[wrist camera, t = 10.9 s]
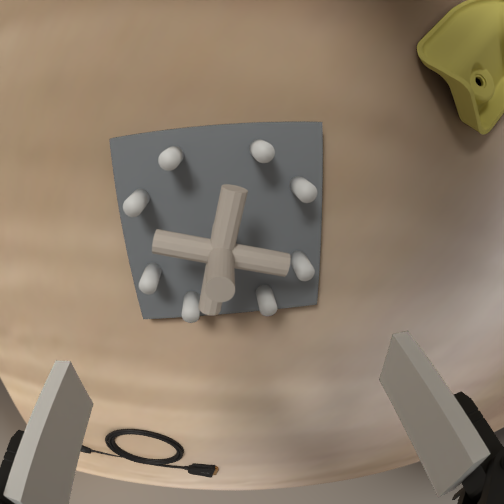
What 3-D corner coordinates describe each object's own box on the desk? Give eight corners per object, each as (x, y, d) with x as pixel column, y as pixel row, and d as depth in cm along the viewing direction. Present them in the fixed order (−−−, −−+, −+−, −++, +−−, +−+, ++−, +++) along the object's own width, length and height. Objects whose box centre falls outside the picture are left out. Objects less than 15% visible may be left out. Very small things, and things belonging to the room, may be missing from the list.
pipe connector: (160, 267, 29) (135, 337, 20) (175, 162, 25) (145, 194, 16) (264, 286, 31) (277, 358, 22) (292, 186, 27) (324, 228, 18)
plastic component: (481, 142, 26) (465, 78, 19) (434, 113, 31) (407, 53, 24) (543, 53, 19) (532, -7, 13) (500, 34, 24) (483, -23, 17)
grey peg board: (114, 137, 25) (97, 142, 21) (317, 121, 26) (334, 123, 22) (145, 311, 32) (138, 337, 28) (313, 296, 34) (325, 321, 30)
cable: (59, 404, 39) (56, 410, 37) (230, 438, 44) (230, 445, 43) (70, 444, 44) (69, 450, 42) (214, 471, 49) (214, 478, 48)
